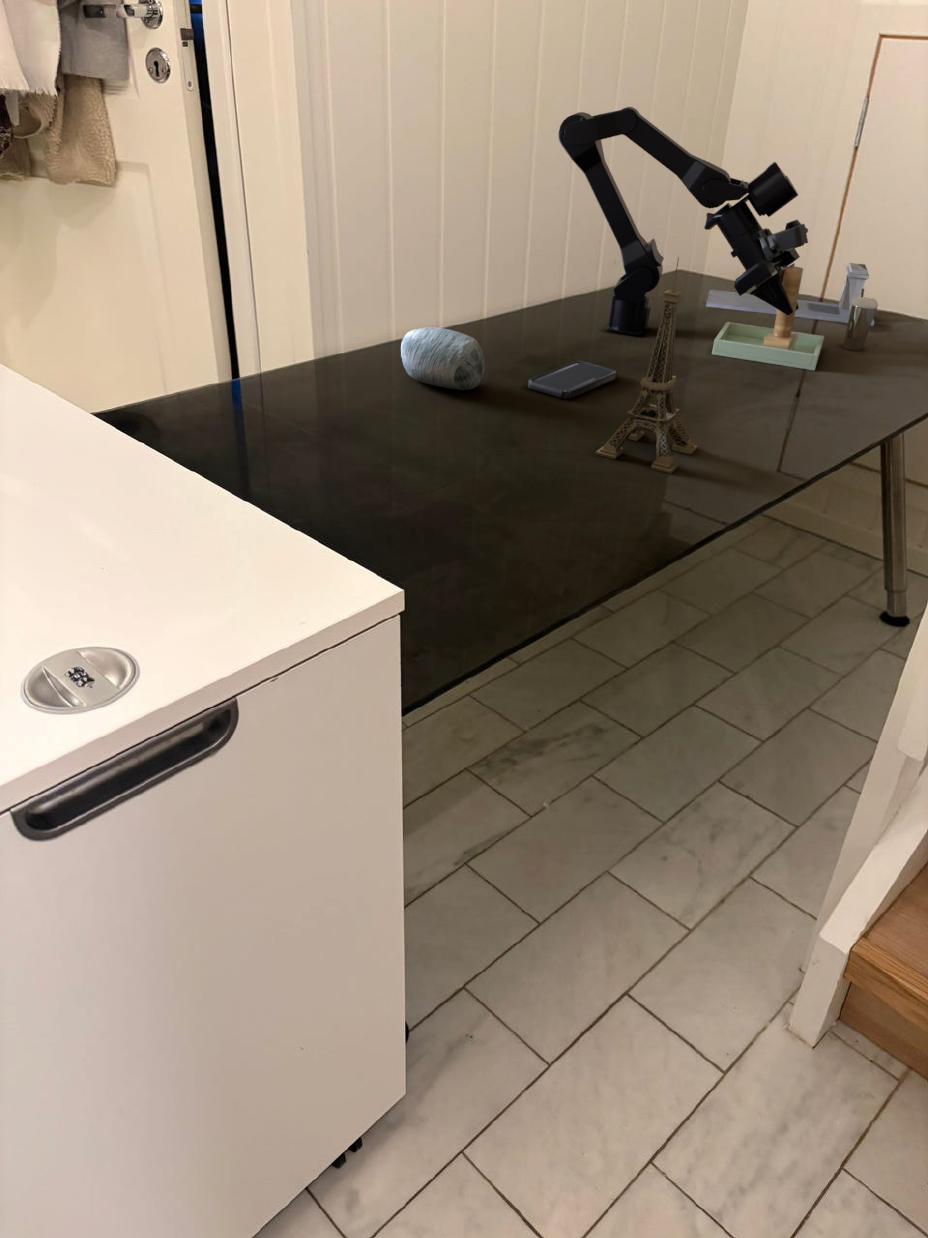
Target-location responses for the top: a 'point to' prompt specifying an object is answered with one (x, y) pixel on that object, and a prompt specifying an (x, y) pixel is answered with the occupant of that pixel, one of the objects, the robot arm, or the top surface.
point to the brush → (784, 322)
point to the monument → (806, 308)
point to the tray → (750, 346)
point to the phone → (572, 379)
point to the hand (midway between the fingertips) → (793, 311)
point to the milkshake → (859, 321)
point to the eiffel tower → (665, 411)
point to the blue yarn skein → (443, 358)
